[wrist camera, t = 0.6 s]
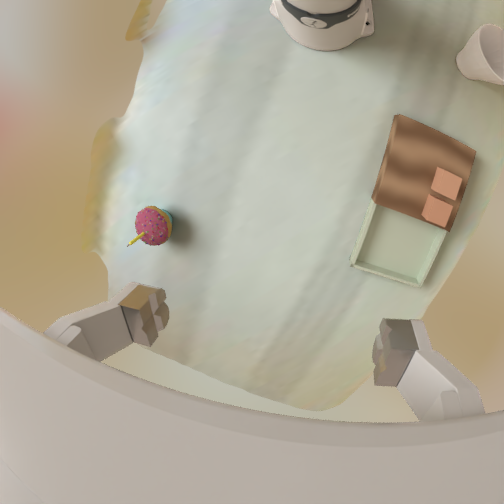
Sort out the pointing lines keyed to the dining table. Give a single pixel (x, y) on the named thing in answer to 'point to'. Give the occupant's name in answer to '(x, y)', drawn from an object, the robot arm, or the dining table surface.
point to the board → (419, 168)
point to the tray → (396, 245)
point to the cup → (483, 55)
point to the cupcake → (153, 226)
